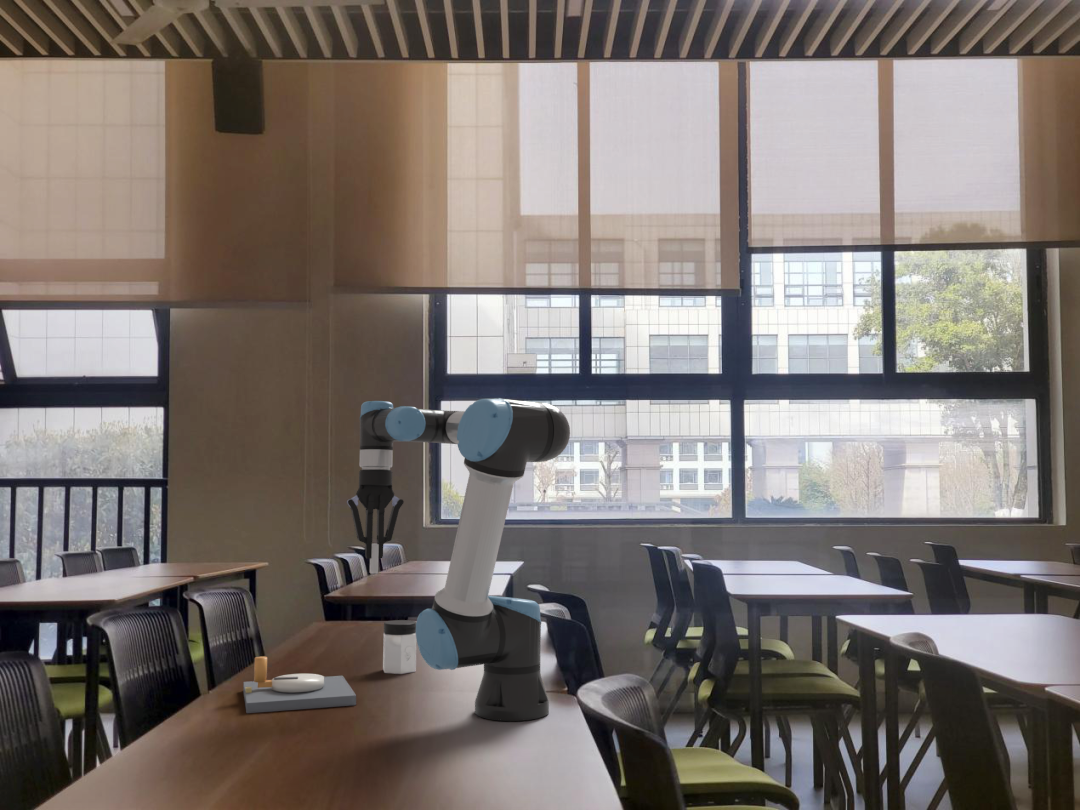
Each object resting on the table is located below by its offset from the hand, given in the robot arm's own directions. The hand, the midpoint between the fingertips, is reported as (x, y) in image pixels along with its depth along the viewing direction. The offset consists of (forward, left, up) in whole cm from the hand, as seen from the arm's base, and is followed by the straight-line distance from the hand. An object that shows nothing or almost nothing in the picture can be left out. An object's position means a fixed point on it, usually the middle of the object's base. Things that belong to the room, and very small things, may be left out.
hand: (373, 573), depth 206 cm
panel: (0, +16, -26) cm, 31 cm away
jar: (+23, -11, -27) cm, 37 cm away
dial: (0, +18, -24) cm, 30 cm away
